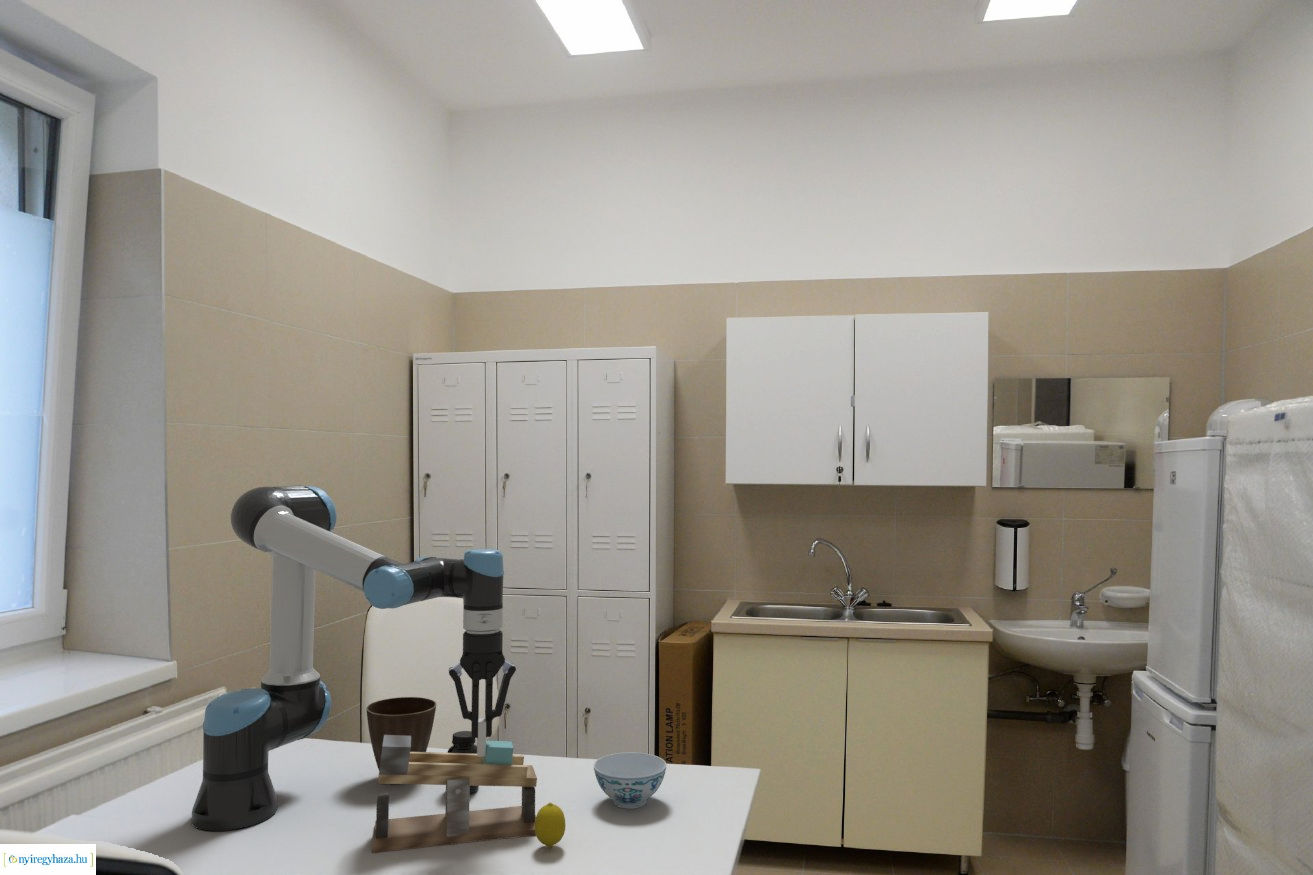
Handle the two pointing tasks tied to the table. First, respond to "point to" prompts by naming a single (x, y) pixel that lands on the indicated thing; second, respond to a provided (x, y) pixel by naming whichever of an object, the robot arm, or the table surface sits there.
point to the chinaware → (630, 777)
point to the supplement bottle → (464, 748)
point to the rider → (498, 752)
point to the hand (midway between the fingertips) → (481, 753)
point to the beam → (447, 767)
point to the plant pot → (401, 722)
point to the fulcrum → (453, 822)
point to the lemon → (550, 825)
